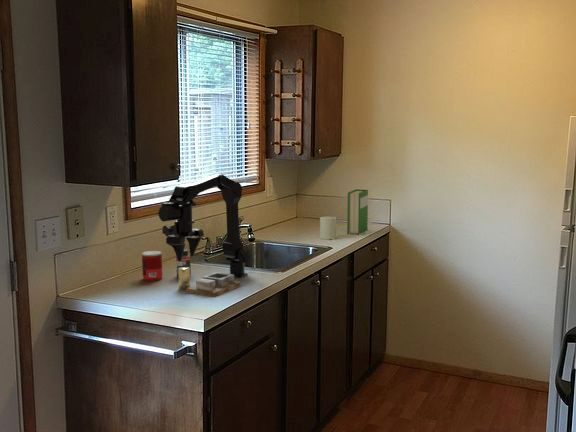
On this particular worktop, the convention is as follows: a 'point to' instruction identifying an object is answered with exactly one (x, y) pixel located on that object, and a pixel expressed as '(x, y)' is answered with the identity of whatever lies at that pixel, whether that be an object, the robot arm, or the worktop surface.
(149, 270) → the canned food
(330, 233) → the can
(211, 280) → the jig
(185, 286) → the cylinder
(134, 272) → the worktop surface
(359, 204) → the hardback book
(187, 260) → the supplement bottle
